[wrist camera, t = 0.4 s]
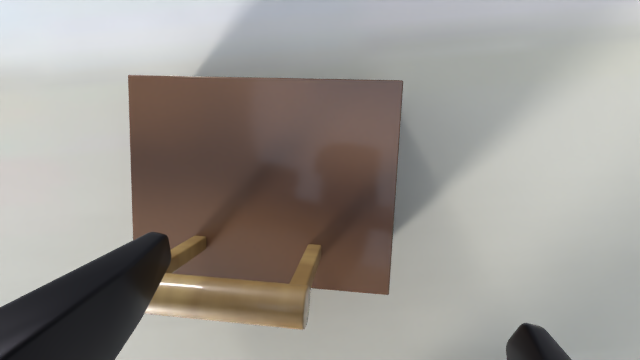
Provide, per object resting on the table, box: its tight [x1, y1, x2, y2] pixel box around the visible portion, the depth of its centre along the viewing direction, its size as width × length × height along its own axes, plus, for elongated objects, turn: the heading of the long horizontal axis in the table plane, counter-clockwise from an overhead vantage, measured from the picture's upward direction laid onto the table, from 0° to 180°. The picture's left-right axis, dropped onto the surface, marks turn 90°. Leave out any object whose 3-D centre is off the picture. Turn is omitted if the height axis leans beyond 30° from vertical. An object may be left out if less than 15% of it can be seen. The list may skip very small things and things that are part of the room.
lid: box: [128, 75, 403, 330], centre depth 14 cm, size 10×14×7 cm
